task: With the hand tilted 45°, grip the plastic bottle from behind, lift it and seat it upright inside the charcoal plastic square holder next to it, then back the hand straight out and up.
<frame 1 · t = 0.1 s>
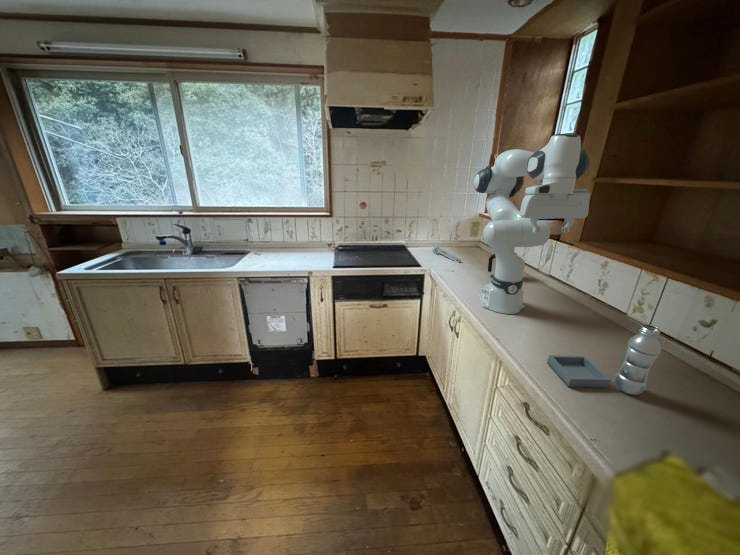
hand: (550, 232, 96), 39 cm above the countertop, tool pointing down, fingers open, 8 cm apart
holder: (575, 375, 88), on the countertop
milk frother: (500, 280, 164), on the countertop
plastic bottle: (626, 390, 82), on the countertop
wrench: (444, 257, 206), on the countertop
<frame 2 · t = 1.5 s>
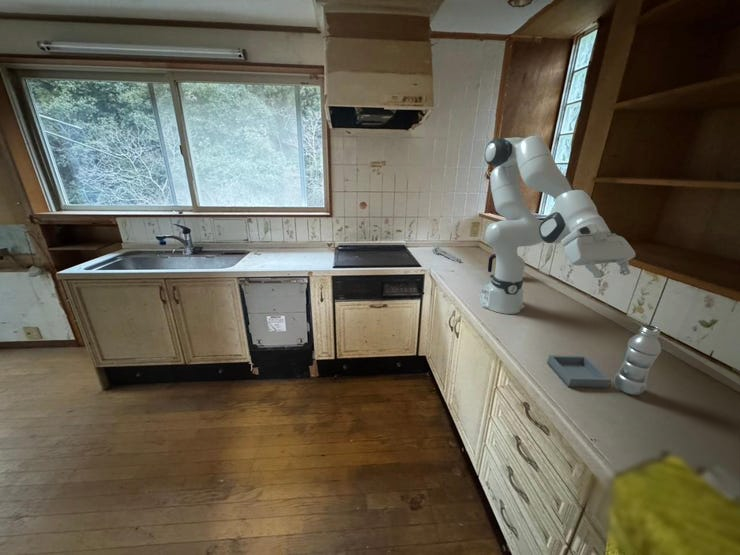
hand: (613, 275, 83), 30 cm above the countertop, tool tilted 45°, fingers open, 8 cm apart
nothing on the countertop moved.
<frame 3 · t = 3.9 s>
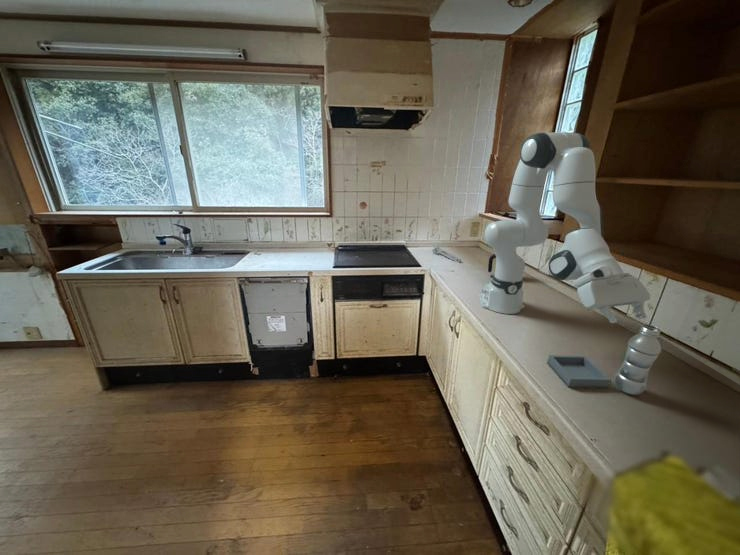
hand: (629, 320, 80), 19 cm above the countertop, tool tilted 45°, fingers open, 8 cm apart
nothing on the countertop moved.
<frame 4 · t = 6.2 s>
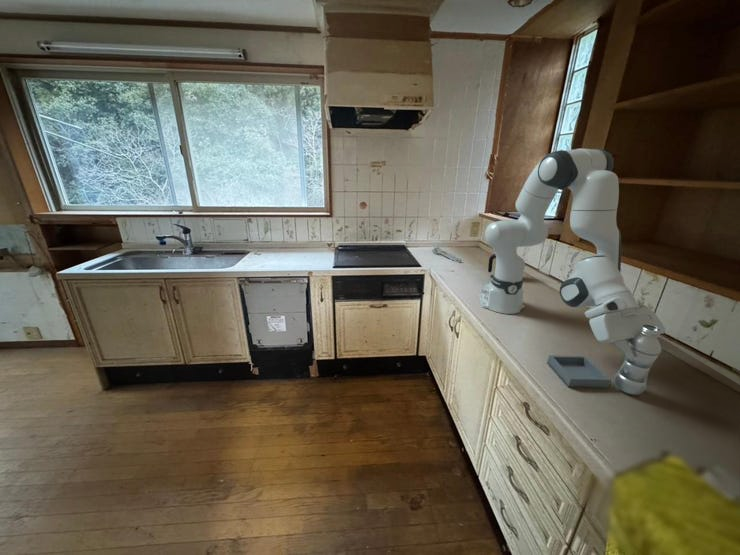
hand: (643, 355, 78), 12 cm above the countertop, tool tilted 45°, fingers closed on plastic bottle, 6 cm apart
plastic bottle: (626, 390, 82), on the countertop, touching gripper
everything else where it was.
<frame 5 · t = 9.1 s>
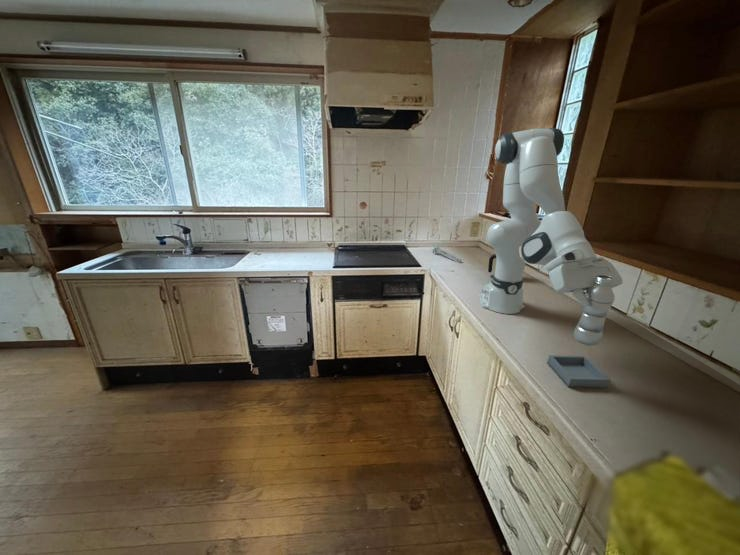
hand: (598, 304, 79), 24 cm above the countertop, tool tilted 45°, fingers closed on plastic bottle, 6 cm apart
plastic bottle: (585, 342, 84), point 11 cm above the countertop, touching gripper
everything else where it was.
when the fingers open (13 cm above the countertop, at t = 12.4 s): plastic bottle stays where it is, resting on holder.
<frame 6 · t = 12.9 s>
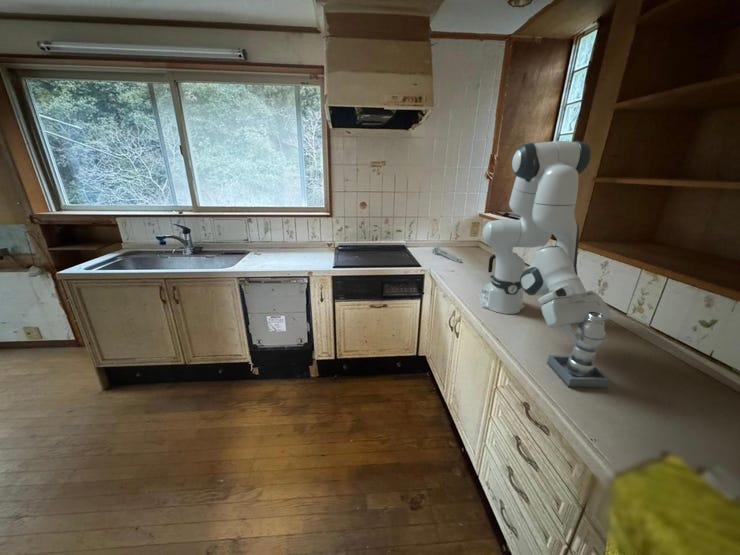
hand: (589, 338, 83), 13 cm above the countertop, tool tilted 45°, fingers open, 8 cm apart
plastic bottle: (577, 374, 88), resting on holder
everything else where it was.
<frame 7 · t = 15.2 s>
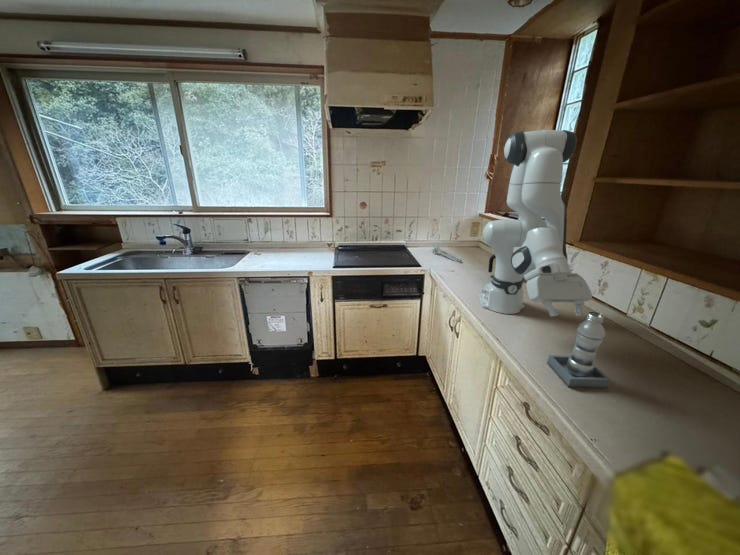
hand: (567, 315, 87), 18 cm above the countertop, tool tilted 40°, fingers open, 8 cm apart
nothing on the countertop moved.
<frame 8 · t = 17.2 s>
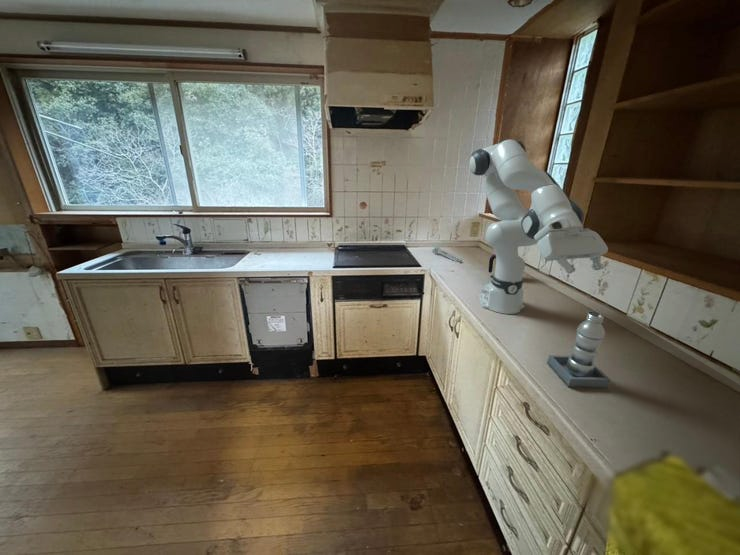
hand: (585, 270, 82), 31 cm above the countertop, tool tilted 45°, fingers open, 8 cm apart
nothing on the countertop moved.
at the end: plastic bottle 0.4 cm off-centre on the holder, point 0.4 cm above the holder's base; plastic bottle tilted 0°; the gripper is holding nothing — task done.
